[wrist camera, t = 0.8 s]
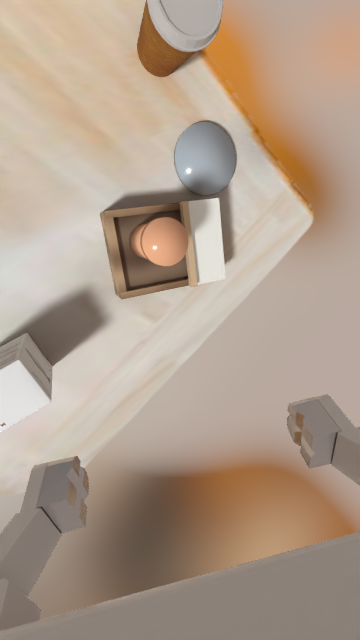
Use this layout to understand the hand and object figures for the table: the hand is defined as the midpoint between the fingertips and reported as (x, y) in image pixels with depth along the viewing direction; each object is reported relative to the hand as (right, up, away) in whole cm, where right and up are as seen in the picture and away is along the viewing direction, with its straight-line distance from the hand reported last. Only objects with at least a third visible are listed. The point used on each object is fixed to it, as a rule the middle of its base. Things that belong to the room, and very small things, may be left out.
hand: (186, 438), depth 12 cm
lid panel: (+3, +17, +38) cm, 42 cm away
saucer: (+4, +32, +40) cm, 51 cm away
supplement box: (-26, -2, +37) cm, 45 cm away
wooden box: (-4, +17, +41) cm, 45 cm away
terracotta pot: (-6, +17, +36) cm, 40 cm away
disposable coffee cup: (-4, +44, +34) cm, 56 cm away
